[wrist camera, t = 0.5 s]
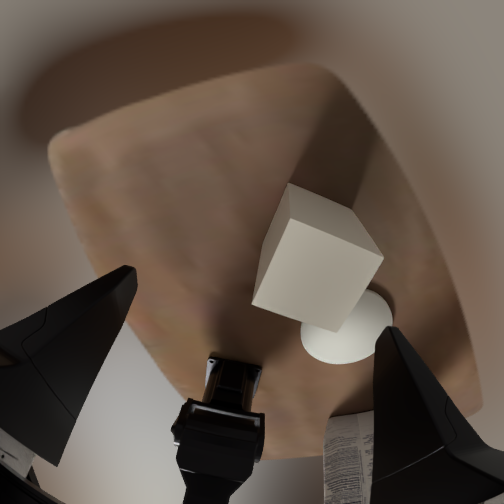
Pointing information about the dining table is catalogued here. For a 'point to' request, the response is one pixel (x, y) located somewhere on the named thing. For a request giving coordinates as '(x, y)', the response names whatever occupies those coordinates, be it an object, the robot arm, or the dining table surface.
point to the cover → (314, 260)
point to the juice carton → (348, 458)
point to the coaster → (350, 332)
